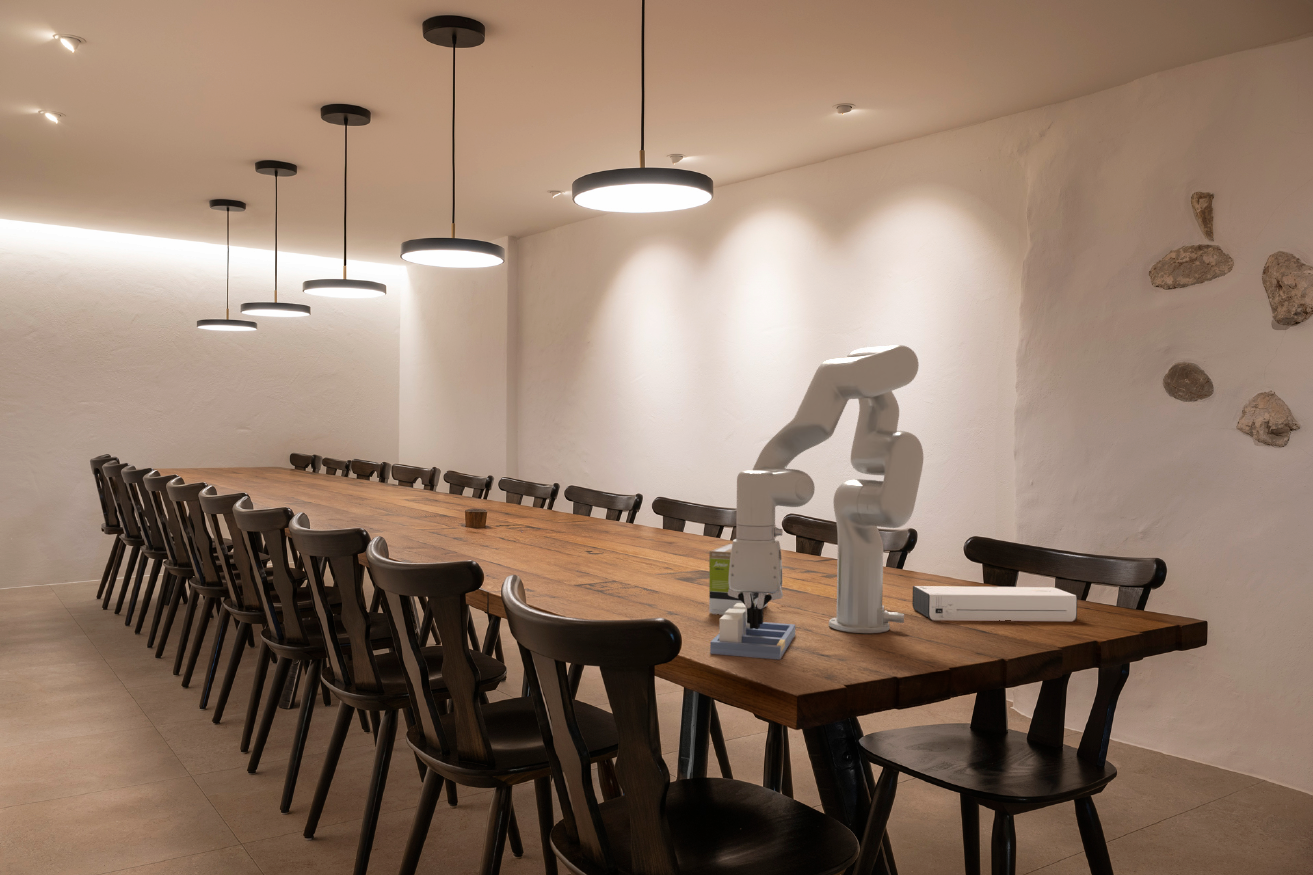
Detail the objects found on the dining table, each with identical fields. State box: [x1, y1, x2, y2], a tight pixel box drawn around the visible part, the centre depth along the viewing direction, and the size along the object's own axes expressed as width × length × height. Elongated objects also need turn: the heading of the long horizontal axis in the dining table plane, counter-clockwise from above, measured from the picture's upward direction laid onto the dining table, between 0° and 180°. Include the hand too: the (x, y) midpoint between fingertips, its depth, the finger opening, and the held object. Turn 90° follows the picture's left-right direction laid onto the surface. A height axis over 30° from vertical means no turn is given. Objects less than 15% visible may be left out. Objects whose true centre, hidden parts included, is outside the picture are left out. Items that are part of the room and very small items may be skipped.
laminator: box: [911, 585, 1078, 622], centre depth 208 cm, size 34×12×6 cm, turn 92°
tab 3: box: [733, 603, 750, 628], centre depth 183 cm, size 4×4×5 cm
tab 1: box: [725, 608, 746, 635], centre depth 177 cm, size 4×4×5 cm
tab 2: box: [718, 615, 742, 643], centre depth 171 cm, size 4×4×5 cm
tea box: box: [708, 543, 769, 616], centre depth 210 cm, size 15×10×15 cm, turn 157°
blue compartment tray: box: [709, 621, 796, 661], centre depth 176 cm, size 13×21×2 cm, turn 164°
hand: (754, 627), depth 176 cm, fingers closed
